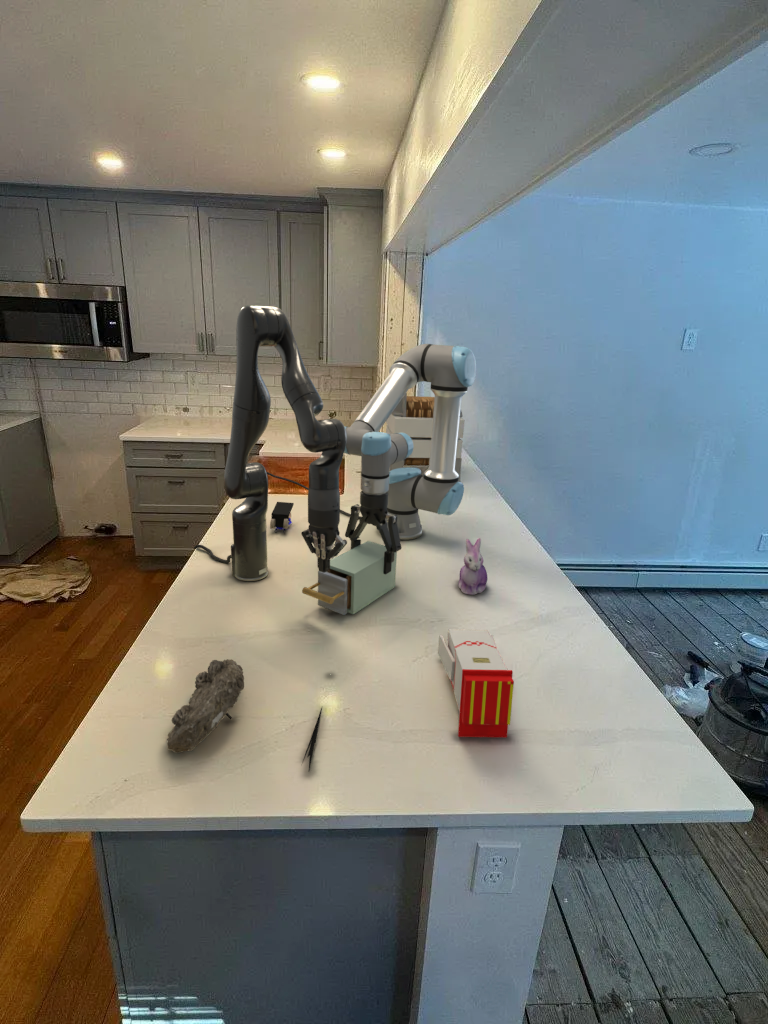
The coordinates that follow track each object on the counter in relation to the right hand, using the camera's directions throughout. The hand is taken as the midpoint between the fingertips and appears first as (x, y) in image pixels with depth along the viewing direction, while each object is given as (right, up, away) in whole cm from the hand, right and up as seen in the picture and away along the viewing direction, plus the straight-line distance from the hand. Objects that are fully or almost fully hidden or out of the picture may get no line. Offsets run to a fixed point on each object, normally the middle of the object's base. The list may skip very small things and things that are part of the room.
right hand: (371, 567), depth 158 cm
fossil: (-29, -24, -50) cm, 63 cm away
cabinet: (-3, -7, -2) cm, 8 cm away
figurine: (+29, -7, +5) cm, 30 cm away
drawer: (-7, -8, -7) cm, 13 cm away
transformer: (+21, +34, +117) cm, 124 cm away
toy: (+21, -22, -40) cm, 50 cm away
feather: (-9, -24, -49) cm, 56 cm away
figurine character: (-33, +10, +42) cm, 54 cm away
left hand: (-11, +1, -19) cm, 22 cm away
